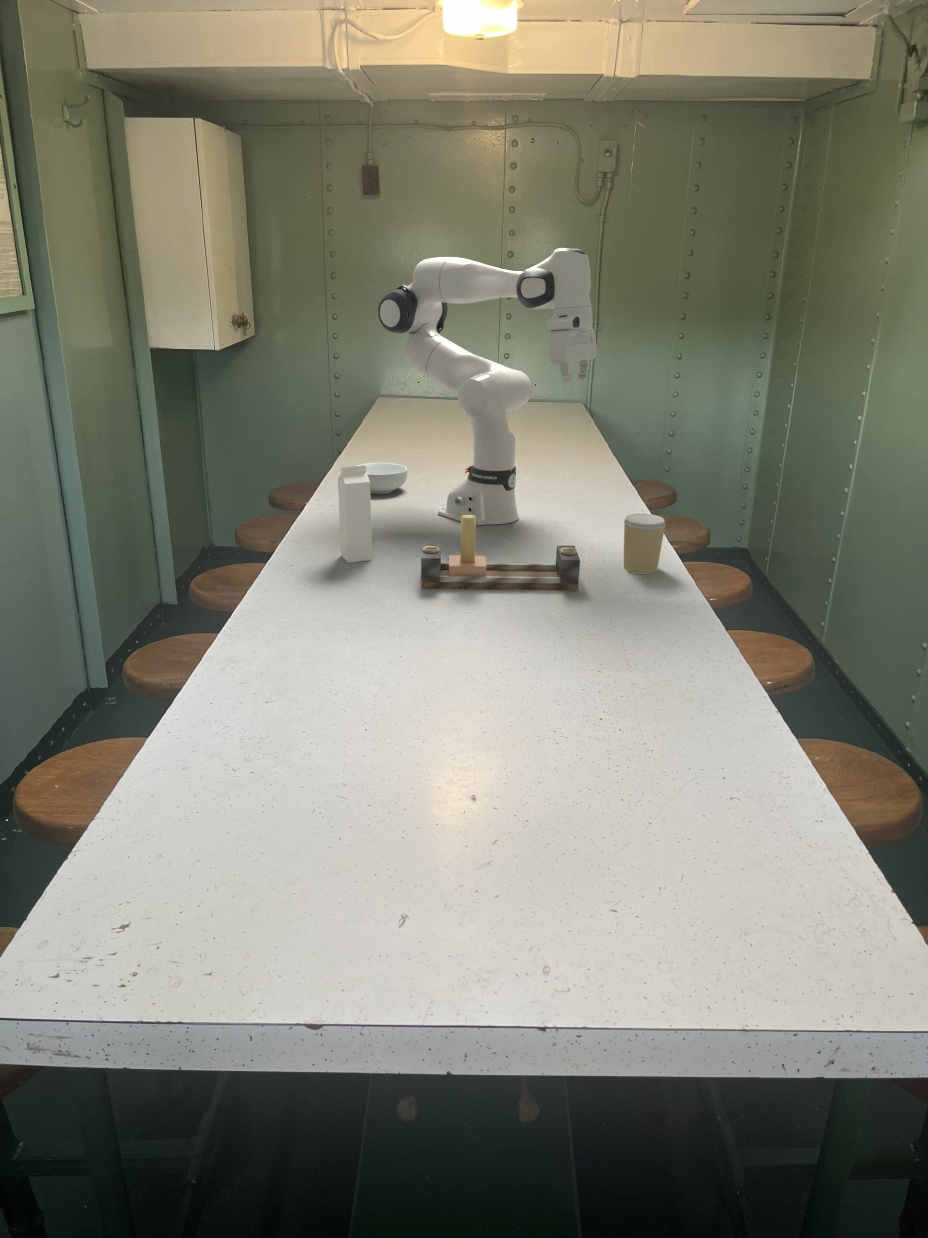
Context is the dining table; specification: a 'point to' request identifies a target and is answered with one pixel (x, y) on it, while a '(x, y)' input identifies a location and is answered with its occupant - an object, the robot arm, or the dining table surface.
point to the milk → (355, 514)
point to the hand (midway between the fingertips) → (575, 380)
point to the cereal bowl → (385, 477)
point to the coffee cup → (642, 542)
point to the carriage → (467, 552)
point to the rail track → (504, 573)
